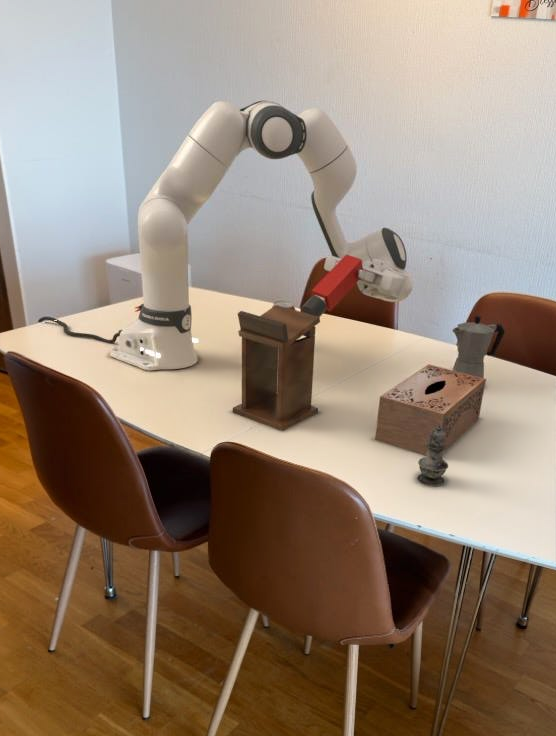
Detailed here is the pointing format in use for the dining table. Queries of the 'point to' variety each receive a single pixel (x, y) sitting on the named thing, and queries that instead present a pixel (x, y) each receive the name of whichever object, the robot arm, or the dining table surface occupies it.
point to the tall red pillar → (333, 286)
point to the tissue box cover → (429, 408)
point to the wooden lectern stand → (277, 366)
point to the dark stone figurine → (433, 459)
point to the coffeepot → (475, 346)
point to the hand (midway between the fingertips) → (348, 269)
